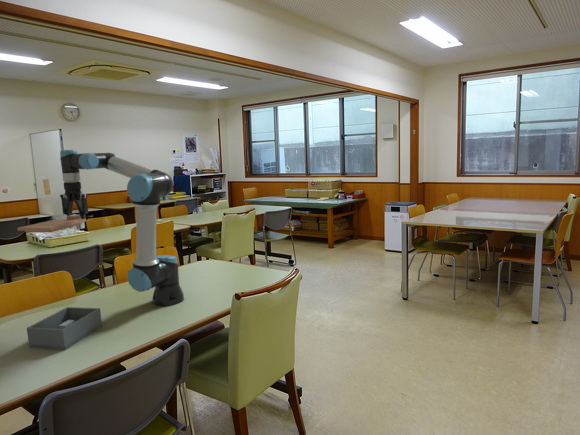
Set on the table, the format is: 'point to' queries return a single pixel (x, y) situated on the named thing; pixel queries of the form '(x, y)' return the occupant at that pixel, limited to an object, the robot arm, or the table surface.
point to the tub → (64, 328)
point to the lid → (54, 224)
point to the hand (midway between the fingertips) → (77, 228)
